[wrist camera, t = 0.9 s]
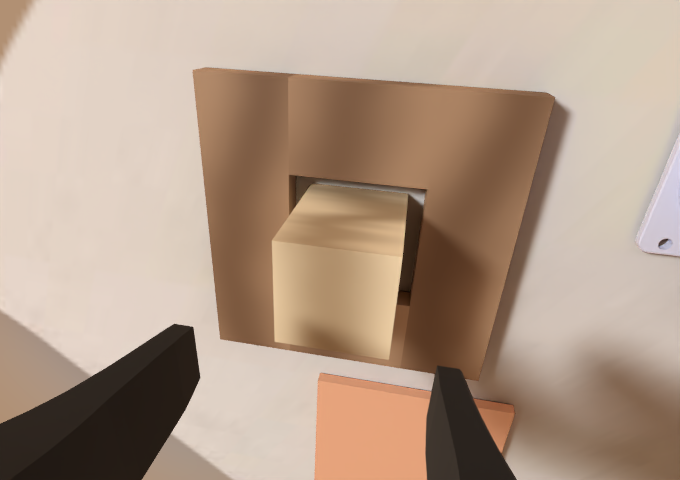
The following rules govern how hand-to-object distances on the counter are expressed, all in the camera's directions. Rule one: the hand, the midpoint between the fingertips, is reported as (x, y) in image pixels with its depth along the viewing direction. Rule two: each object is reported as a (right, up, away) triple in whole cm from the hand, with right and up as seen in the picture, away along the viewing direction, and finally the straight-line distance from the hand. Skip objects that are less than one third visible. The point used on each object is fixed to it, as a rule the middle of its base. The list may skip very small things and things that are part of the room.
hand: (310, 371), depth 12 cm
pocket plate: (+2, +4, +8) cm, 9 cm away
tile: (+5, -10, +15) cm, 18 cm away
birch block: (+2, +4, +8) cm, 9 cm away
